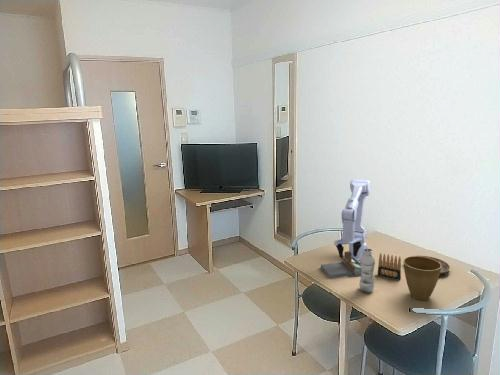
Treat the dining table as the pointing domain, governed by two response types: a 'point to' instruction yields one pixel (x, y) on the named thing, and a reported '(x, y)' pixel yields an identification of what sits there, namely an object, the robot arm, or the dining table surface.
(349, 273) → the charcoal board
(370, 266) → the plastic bottle
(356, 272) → the tray
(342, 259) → the walnut mallet
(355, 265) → the pale mint cube
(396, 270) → the ammunition clip
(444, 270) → the plant saucer
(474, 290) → the dining table surface
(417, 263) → the plant pot
